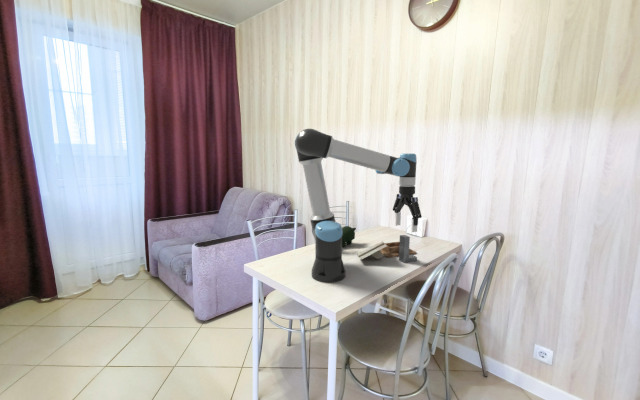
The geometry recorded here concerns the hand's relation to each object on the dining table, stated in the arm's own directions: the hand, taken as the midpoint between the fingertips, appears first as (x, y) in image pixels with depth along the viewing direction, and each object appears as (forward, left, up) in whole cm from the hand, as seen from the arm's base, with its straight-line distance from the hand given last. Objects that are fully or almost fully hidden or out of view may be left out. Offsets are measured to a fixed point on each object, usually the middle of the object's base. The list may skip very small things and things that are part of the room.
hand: (405, 228), depth 147 cm
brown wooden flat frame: (+4, +14, -17) cm, 22 cm away
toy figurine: (-21, +33, -17) cm, 42 cm away
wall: (-14, +8, -17) cm, 24 cm away
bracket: (+2, 0, -17) cm, 17 cm away
